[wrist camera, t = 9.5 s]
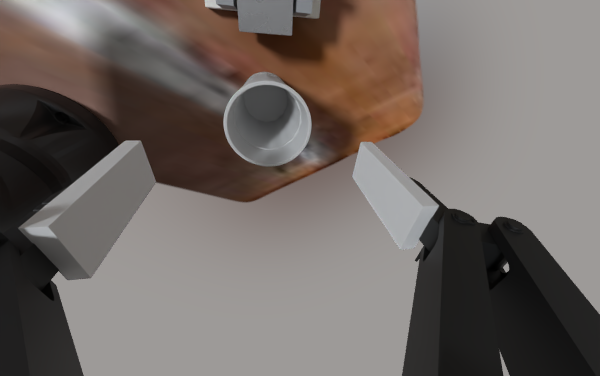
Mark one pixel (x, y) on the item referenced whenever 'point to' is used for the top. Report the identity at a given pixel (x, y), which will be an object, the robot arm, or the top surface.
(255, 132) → the cup
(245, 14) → the grey rectangular slab
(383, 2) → the top surface
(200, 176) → the top surface
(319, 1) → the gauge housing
